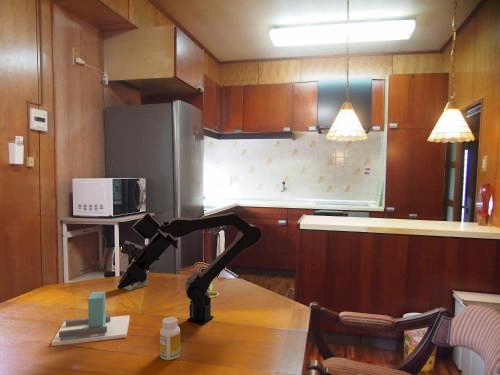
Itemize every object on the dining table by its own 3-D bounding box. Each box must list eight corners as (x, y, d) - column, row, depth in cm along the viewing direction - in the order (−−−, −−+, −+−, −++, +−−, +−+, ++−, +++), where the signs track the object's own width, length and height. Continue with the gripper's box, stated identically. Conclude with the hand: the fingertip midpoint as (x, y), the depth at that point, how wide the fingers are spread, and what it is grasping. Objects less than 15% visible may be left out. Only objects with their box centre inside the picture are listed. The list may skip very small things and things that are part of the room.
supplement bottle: (181, 349, 96) (181, 315, 95) (178, 360, 90) (178, 324, 90) (162, 350, 95) (162, 315, 95) (157, 360, 90) (157, 324, 90)
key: (212, 288, 148) (212, 283, 148) (220, 298, 136) (220, 292, 136) (195, 290, 145) (195, 285, 145) (202, 300, 134) (202, 295, 134)
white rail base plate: (129, 318, 116) (129, 310, 116) (126, 337, 103) (126, 329, 102) (64, 324, 111) (64, 317, 111) (51, 345, 97) (51, 337, 97)
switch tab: (105, 321, 110) (105, 291, 110) (102, 330, 105) (102, 297, 104) (92, 323, 109) (91, 292, 109) (88, 331, 104) (88, 299, 103)
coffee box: (129, 291, 143) (129, 252, 142) (121, 287, 147) (120, 250, 146) (148, 285, 150) (148, 249, 149) (140, 282, 154) (139, 246, 153)
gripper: (138, 227, 118) (104, 261, 115) (134, 237, 100) (94, 278, 97) (162, 249, 120) (129, 282, 118) (162, 262, 102) (123, 302, 100)
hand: (119, 285), depth 108 cm, fingers open, 5 cm apart
